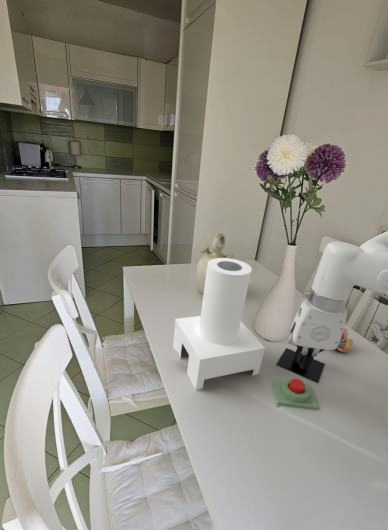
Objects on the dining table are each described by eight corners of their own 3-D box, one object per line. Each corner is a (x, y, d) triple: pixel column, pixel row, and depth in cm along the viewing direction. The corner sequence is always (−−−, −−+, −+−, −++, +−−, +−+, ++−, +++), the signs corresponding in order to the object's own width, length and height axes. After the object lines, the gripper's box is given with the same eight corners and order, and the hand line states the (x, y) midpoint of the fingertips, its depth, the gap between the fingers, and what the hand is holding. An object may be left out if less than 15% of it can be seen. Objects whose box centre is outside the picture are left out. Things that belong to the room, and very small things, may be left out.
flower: (309, 338, 102) (326, 329, 95) (323, 325, 107) (340, 316, 100) (328, 362, 100) (347, 355, 94) (342, 347, 105) (360, 340, 98)
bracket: (323, 366, 92) (336, 334, 86) (316, 385, 84) (330, 351, 79) (285, 350, 97) (294, 319, 92) (275, 367, 89) (285, 334, 84)
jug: (187, 287, 130) (192, 230, 118) (212, 280, 140) (220, 226, 128) (212, 302, 120) (221, 242, 109) (237, 293, 130) (248, 236, 118)
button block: (307, 388, 83) (311, 379, 81) (316, 412, 76) (320, 402, 74) (271, 384, 83) (274, 374, 81) (276, 407, 76) (279, 397, 74)
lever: (352, 345, 83) (353, 337, 82) (350, 354, 79) (351, 346, 78) (306, 338, 89) (306, 331, 88) (302, 346, 85) (302, 339, 84)
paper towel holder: (195, 390, 78) (210, 285, 64) (173, 346, 93) (181, 253, 79) (257, 376, 85) (283, 279, 71) (227, 337, 100) (243, 251, 86)
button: (301, 384, 79) (303, 379, 78) (304, 394, 76) (306, 389, 75) (287, 382, 79) (289, 377, 79) (290, 393, 76) (292, 387, 75)
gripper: (296, 303, 62) (274, 371, 71) (368, 313, 62) (338, 380, 71) (288, 287, 69) (269, 351, 78) (354, 296, 69) (327, 359, 78)
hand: (302, 365), depth 74 cm, fingers closed
